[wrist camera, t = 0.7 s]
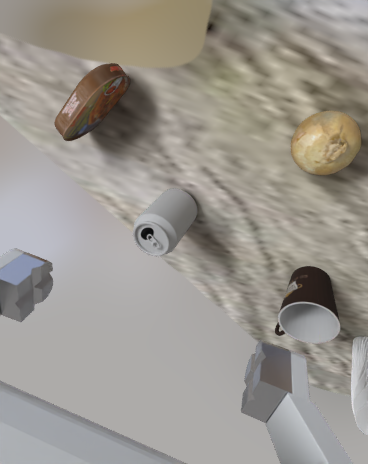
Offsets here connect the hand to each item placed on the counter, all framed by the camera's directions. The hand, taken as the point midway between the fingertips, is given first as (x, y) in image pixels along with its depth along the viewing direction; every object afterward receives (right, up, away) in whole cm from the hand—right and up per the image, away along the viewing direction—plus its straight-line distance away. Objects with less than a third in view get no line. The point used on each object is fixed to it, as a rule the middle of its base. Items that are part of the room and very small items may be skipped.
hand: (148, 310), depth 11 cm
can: (+1, +8, +44) cm, 44 cm away
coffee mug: (+23, -6, +42) cm, 48 cm away
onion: (+20, +16, +29) cm, 39 cm away
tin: (-11, +25, +38) cm, 47 cm away
